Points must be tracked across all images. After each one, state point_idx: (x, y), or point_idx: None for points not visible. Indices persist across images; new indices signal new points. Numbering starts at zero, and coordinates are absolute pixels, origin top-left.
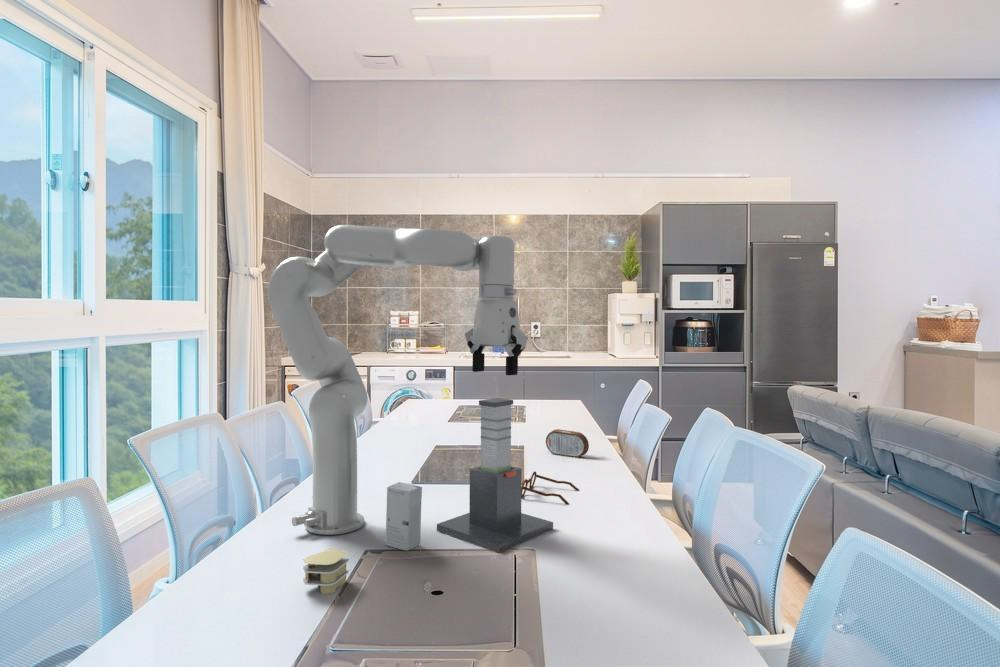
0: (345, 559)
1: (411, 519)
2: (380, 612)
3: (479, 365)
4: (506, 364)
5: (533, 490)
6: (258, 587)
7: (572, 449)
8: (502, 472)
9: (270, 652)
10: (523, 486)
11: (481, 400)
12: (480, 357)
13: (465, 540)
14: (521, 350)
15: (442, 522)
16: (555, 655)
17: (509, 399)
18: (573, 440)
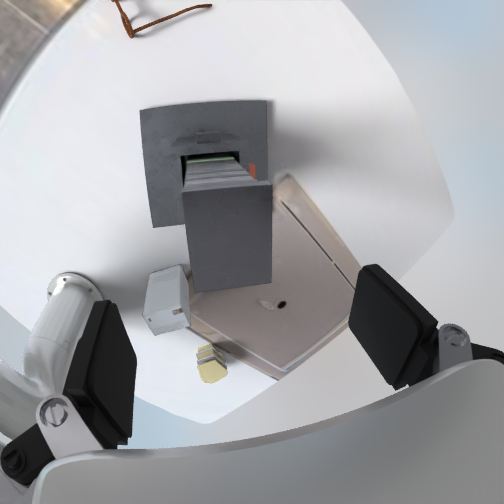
0: (212, 357)
1: (187, 298)
2: (273, 342)
3: (122, 358)
4: (376, 360)
5: (152, 24)
6: (179, 379)
7: None
8: None
9: (262, 387)
10: (132, 30)
11: (199, 285)
12: (114, 395)
13: None
14: (480, 353)
15: (152, 218)
16: None
17: (253, 187)
18: None
